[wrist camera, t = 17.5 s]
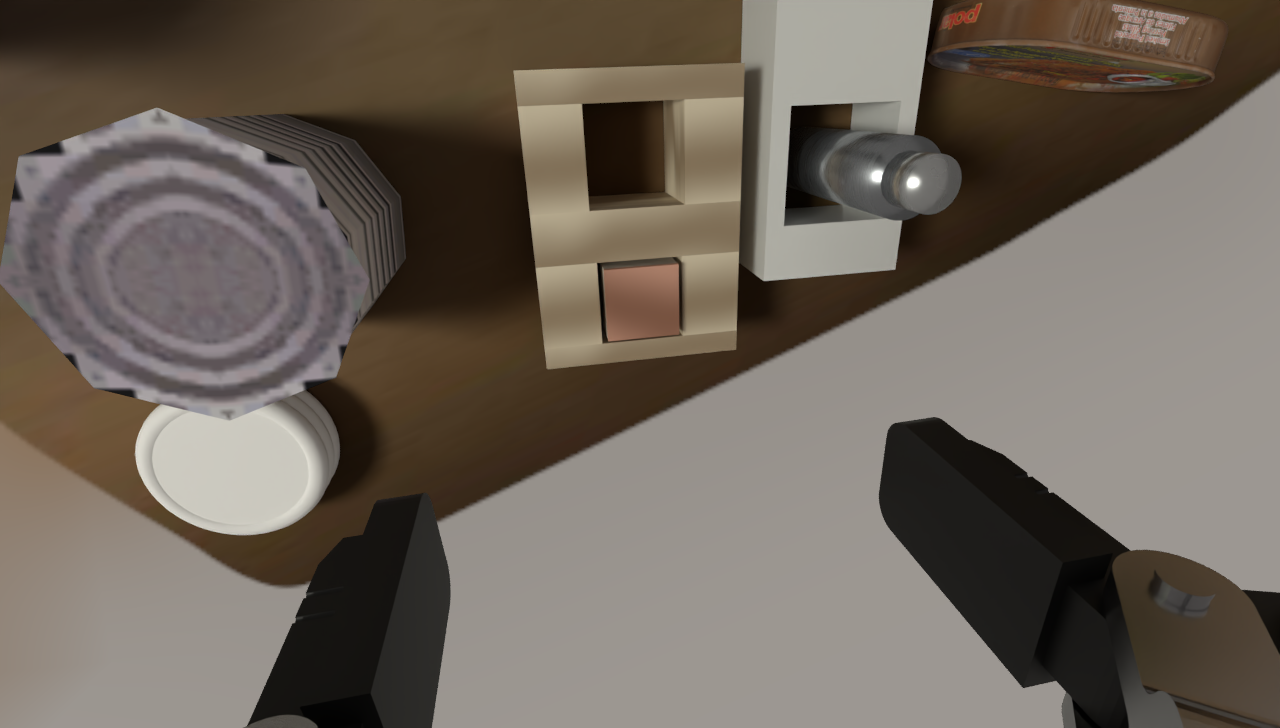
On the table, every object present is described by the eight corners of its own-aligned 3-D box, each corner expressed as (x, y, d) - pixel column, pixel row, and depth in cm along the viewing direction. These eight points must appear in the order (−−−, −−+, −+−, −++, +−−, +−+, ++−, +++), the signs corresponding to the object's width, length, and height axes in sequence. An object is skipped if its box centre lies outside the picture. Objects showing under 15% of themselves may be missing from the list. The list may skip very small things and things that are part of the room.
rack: (743, -17, 32) (779, -36, 27) (881, -18, 33) (938, -37, 28) (735, 260, 38) (763, 281, 33) (852, 250, 39) (895, 269, 34)
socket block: (515, 75, 32) (513, 70, 27) (715, 68, 33) (744, 62, 29) (544, 337, 38) (546, 369, 33) (712, 321, 39) (736, 349, 35)
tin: (896, 62, 35) (999, 50, 27) (912, 0, 34) (1024, -30, 26) (1105, 97, 38) (1250, 95, 30) (1126, 42, 37) (1283, 25, 29)
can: (197, 74, 29) (4, 57, 18) (432, 161, 33) (386, 191, 22) (170, 286, 33) (-5, 377, 22) (384, 345, 36) (324, 449, 25)
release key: (595, 251, 35) (604, 270, 31) (661, 245, 36) (678, 264, 32) (599, 315, 37) (608, 341, 33) (662, 309, 37) (679, 334, 33)
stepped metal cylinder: (775, 127, 35) (900, 139, 23) (832, 125, 35) (982, 135, 24) (771, 190, 36) (887, 231, 25) (826, 187, 37) (966, 225, 25)
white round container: (369, 476, 40) (355, 509, 37) (222, 523, 39) (195, 560, 36) (294, 345, 35) (271, 368, 32) (128, 395, 35) (88, 424, 32)
